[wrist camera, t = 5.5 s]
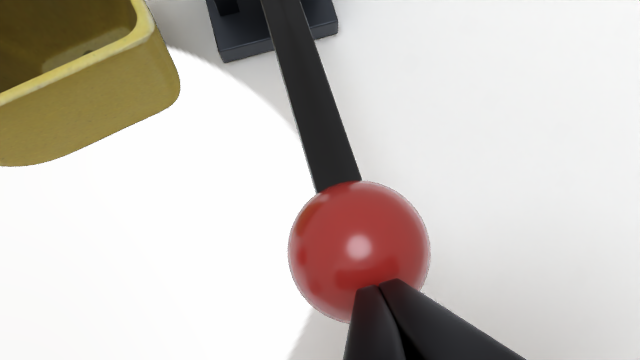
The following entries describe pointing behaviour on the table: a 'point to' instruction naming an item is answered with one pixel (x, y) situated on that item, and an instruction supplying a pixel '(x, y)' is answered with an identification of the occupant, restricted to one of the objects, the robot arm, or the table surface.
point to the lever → (338, 189)
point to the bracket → (260, 25)
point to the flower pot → (77, 74)
